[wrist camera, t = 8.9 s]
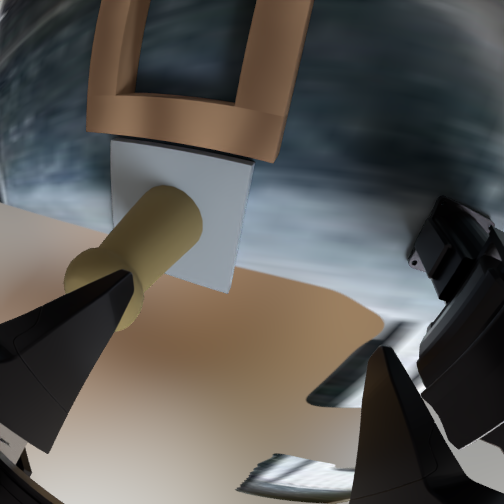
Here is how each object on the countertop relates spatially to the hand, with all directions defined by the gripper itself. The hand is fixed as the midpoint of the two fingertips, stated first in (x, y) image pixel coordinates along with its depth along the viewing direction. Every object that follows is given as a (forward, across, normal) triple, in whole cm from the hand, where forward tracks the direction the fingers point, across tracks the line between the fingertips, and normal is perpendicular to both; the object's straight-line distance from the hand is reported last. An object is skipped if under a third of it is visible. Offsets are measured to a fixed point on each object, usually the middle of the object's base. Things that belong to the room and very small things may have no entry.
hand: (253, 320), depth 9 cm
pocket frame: (+13, +9, -10) cm, 18 cm away
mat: (+13, +9, +5) cm, 17 cm away
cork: (+12, +9, +5) cm, 16 cm away
